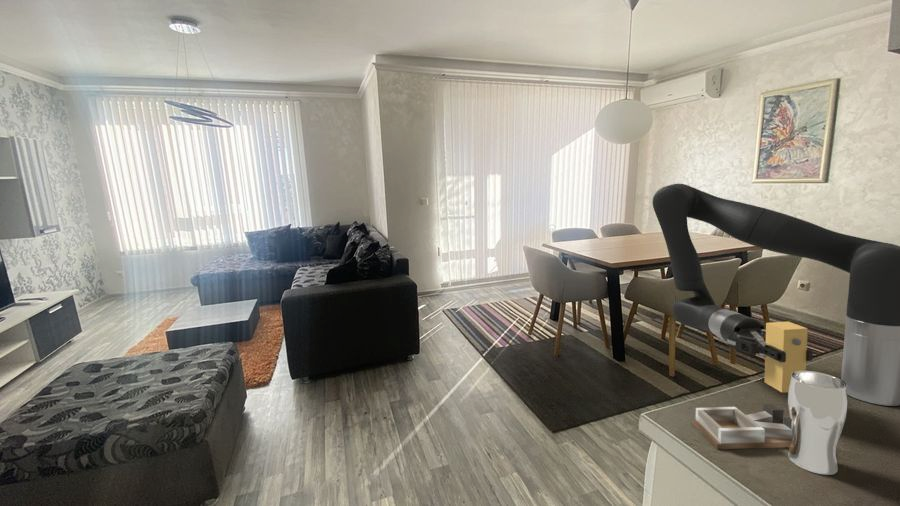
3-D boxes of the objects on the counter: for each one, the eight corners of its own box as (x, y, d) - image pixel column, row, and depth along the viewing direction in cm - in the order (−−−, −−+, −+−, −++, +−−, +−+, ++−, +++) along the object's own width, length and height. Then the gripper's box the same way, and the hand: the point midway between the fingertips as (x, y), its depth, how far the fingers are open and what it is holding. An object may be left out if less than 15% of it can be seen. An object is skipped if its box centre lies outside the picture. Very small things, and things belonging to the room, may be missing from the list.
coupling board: (773, 421, 75) (774, 402, 74) (809, 446, 67) (810, 426, 67) (691, 423, 76) (692, 405, 75) (716, 449, 68) (717, 428, 67)
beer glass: (783, 444, 68) (788, 366, 66) (838, 459, 64) (845, 376, 62) (785, 466, 63) (790, 382, 61) (845, 484, 59) (852, 394, 57)
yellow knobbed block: (783, 379, 79) (785, 320, 78) (807, 392, 74) (810, 329, 72) (762, 380, 79) (763, 321, 78) (784, 394, 74) (786, 330, 72)
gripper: (704, 315, 90) (759, 340, 73) (766, 311, 89) (836, 336, 72) (704, 345, 91) (759, 377, 74) (765, 341, 90) (835, 373, 73)
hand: (797, 356), depth 73 cm, fingers closed on yellow knobbed block, 4 cm apart
